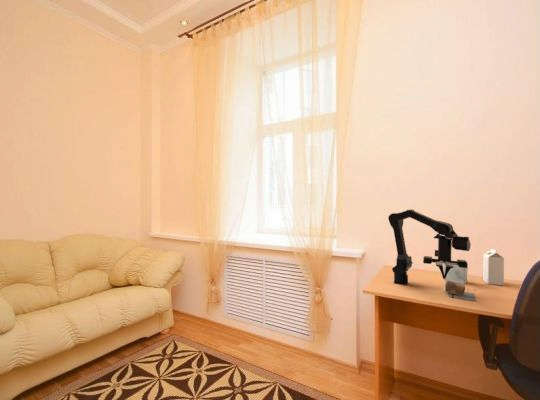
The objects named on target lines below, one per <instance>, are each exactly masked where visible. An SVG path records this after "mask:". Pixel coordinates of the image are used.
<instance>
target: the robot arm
mask: <svg viewBox="0 0 540 400" xmlns="http://www.w3.org/2000/svg"><path fill="white" fill-rule="evenodd" d="M408 218H409V219H410V218H411V219H413V220H414V221H417V222H419V223H421V224H423V225H426V226H428V227H429V228H431V229H432V230H434V232H435V233H436V235H435V236H433V239H437V240H438V241H437V242H438V243H437V249H434V257H436V258H433V257H432V256H429V255H428V256H427V255H424V256H423V257H422V258H423V261H422V262H423V263H422V264H429V265H430V264H432V263H435V266H436V267H438V269H439V270H440V274H441V277H442V279H443V280H444V279H445V278H446V276H447V274H448V272H449V270H450V269H451V268H453V265H458V266H459V267H461V268H467V269H468V267H469V266H468V265H469V264H468V261H467V260H466V259H459V258H458V259H456V260H452V248H453V249H454V250H456V251H457V250H458V251H462V252H463V251H464V252H470V250H471V241H470V237H469V236H462V235H461V236H460V235H458V233H456V232H455V230H454V227H453V225H452V224H451V223H449V222H445V221H443V220H441V221H440V220H436V219H433V218H431V217H429V216H427V215H424V214H422V213H420V212H418V211H415V209H407V210H404V211H402V212H393V213H391V214H389V215H388V223H389V225H390V226H391V228H392V230H393V235H394V241H395V245H396V246H395V247H396V251H397V255H396V260H395V261H396V265H395V266H393V267H392V272H393V275H394V276H393V284H397V285H405V286H407V285H408V282H409V275H408V273H407V272H408V271H409V269H411V267H413V266H412V265H413V264H414V263H413V259H412V255H409V254H408V253H407V252H408V251H407V249H406V248H407V246H406V243H405V237H404V230H403V227H404V220H405V219H406V220H407V219H408ZM444 264H446V268H445V273H444Z"/></svg>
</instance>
